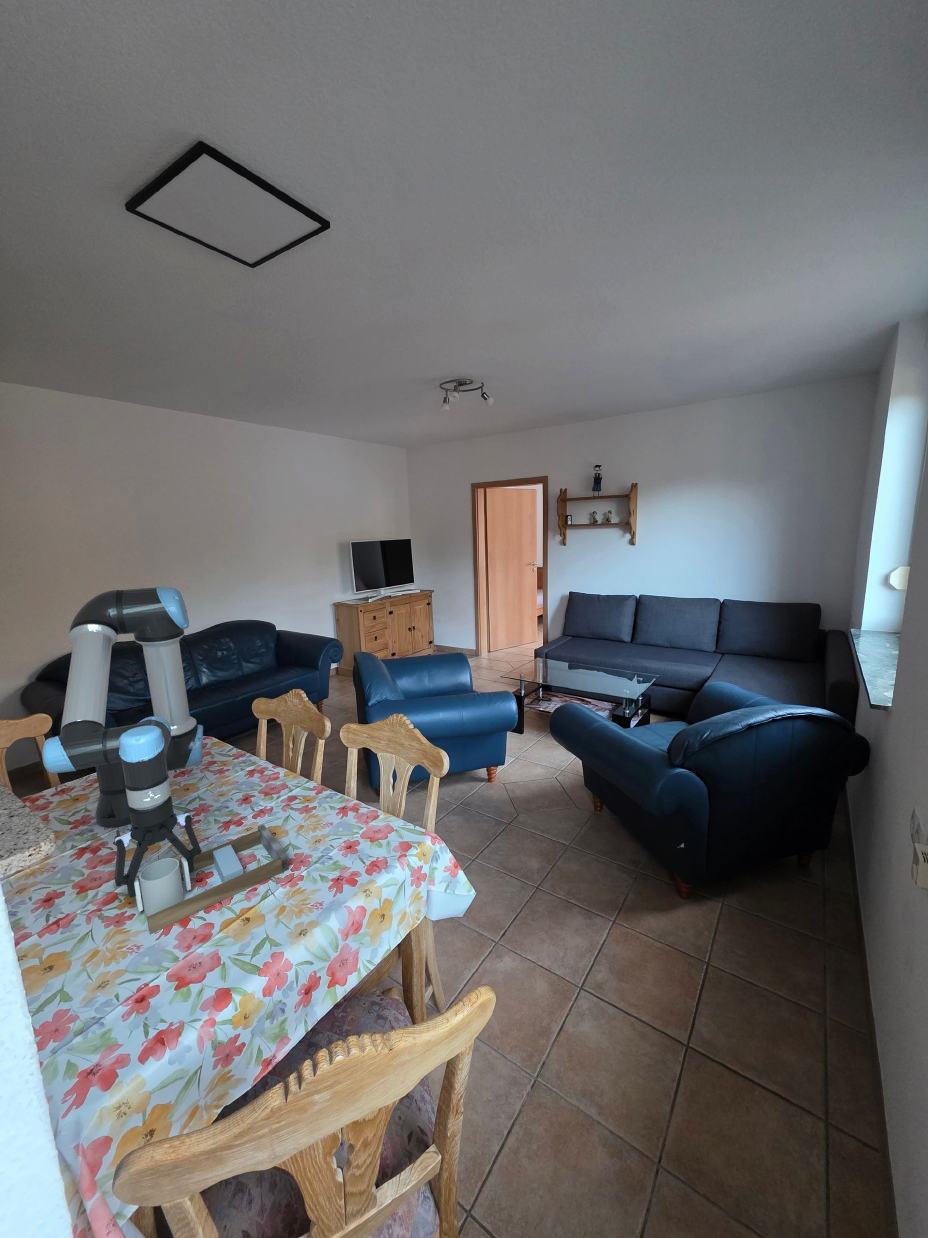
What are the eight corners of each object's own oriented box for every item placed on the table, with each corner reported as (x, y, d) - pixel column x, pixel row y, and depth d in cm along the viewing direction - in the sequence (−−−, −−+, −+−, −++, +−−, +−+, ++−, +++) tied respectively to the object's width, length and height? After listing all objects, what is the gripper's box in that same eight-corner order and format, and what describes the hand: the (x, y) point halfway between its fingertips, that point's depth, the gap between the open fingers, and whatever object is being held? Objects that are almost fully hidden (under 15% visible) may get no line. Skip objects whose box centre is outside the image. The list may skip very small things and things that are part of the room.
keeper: (214, 866, 117) (212, 851, 116) (232, 859, 119) (230, 844, 118) (225, 892, 108) (223, 876, 108) (244, 884, 111) (243, 868, 110)
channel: (137, 891, 109) (135, 875, 108) (264, 838, 127) (263, 824, 126) (150, 934, 97) (147, 917, 96) (288, 869, 115) (287, 854, 114)
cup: (143, 924, 99) (137, 886, 98) (147, 893, 108) (142, 857, 106) (183, 911, 103) (178, 874, 101) (185, 882, 111) (180, 847, 110)
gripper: (88, 830, 91) (106, 934, 96) (210, 789, 105) (221, 882, 109) (85, 813, 97) (102, 912, 101) (201, 777, 111) (212, 865, 115)
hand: (164, 896), depth 105 cm, fingers open, 8 cm apart
